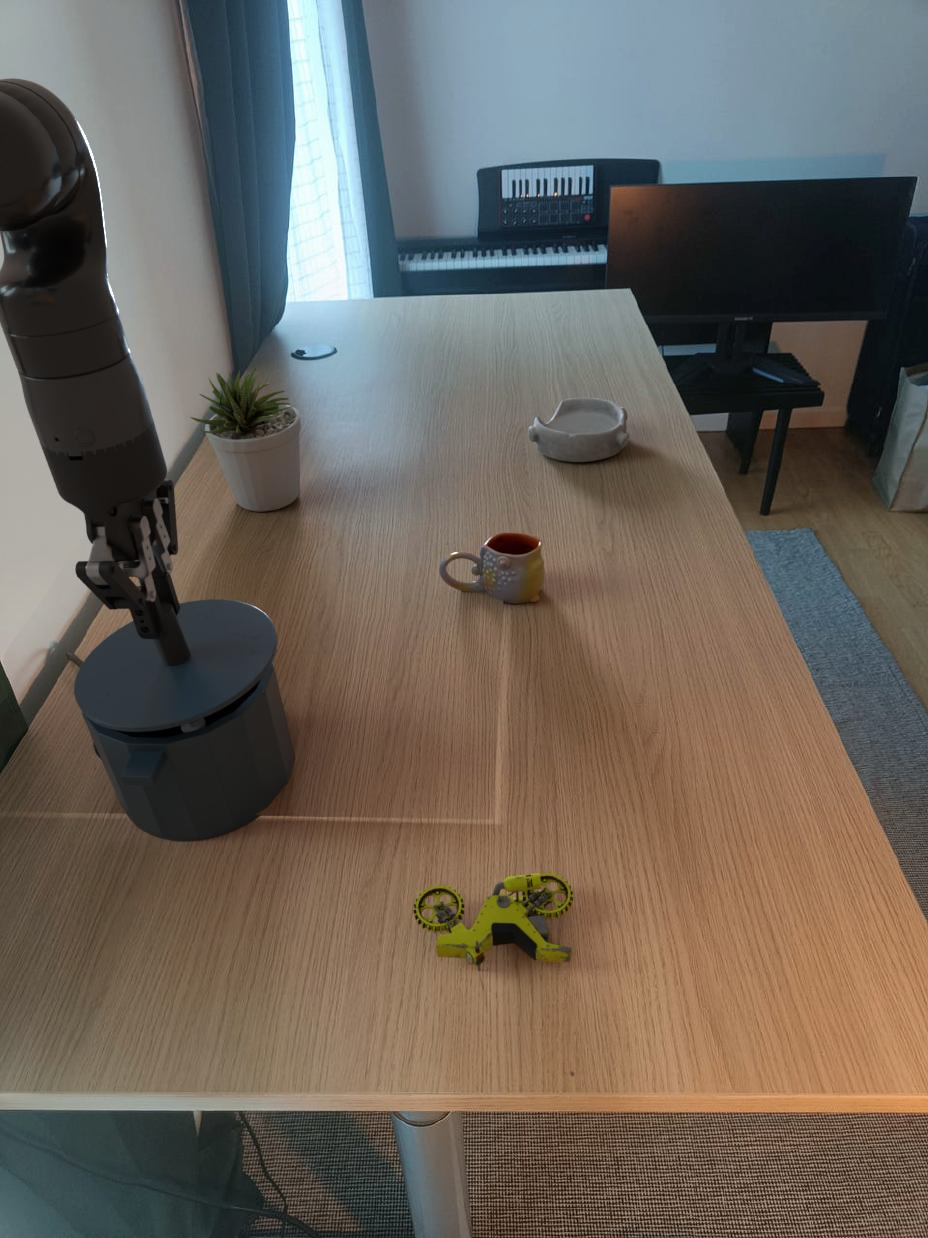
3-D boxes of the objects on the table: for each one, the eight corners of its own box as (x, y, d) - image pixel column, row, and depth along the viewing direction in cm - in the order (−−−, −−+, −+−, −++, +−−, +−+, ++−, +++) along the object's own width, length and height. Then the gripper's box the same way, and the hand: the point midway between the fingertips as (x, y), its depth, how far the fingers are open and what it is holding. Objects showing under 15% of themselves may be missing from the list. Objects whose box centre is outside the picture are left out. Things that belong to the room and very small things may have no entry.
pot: (81, 865, 72) (32, 769, 65) (166, 696, 89) (135, 605, 82) (264, 869, 71) (234, 771, 64) (315, 697, 88) (296, 604, 81)
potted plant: (205, 493, 124) (170, 356, 113) (297, 469, 129) (272, 335, 117) (228, 532, 115) (192, 387, 103) (326, 504, 120) (302, 362, 108)
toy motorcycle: (568, 856, 66) (587, 939, 60) (567, 886, 68) (585, 969, 63) (410, 874, 65) (415, 960, 60) (414, 904, 68) (419, 989, 62)
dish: (523, 461, 127) (522, 429, 124) (547, 422, 138) (547, 392, 135) (621, 471, 123) (623, 439, 120) (638, 431, 134) (640, 400, 131)
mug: (542, 572, 104) (542, 524, 100) (546, 606, 98) (547, 556, 94) (442, 577, 104) (438, 529, 100) (440, 610, 99) (436, 561, 95)
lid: (47, 748, 66) (15, 689, 63) (115, 619, 80) (91, 565, 76) (261, 726, 65) (239, 666, 62) (292, 599, 79) (276, 544, 75)
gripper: (84, 386, 65) (146, 577, 76) (-8, 471, 54) (80, 682, 65) (181, 383, 65) (230, 576, 75) (108, 469, 54) (178, 682, 64)
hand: (160, 624), depth 70 cm, fingers closed on lid, 2 cm apart
